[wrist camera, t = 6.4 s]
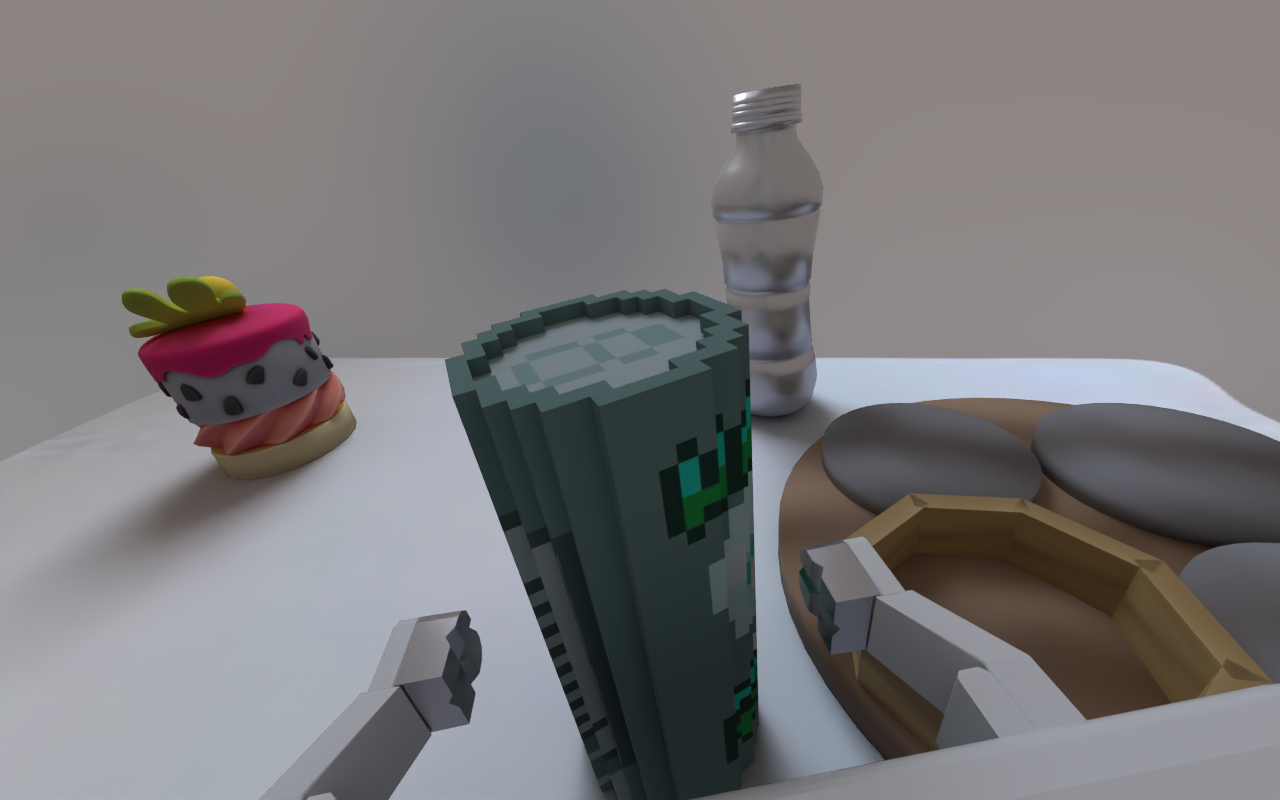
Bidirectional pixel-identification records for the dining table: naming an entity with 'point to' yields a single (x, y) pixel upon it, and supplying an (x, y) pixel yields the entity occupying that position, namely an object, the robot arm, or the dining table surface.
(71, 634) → the dining table surface
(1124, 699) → the wooden stone platter
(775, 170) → the plastic bottle
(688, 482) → the can
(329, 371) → the cake
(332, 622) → the dining table surface
